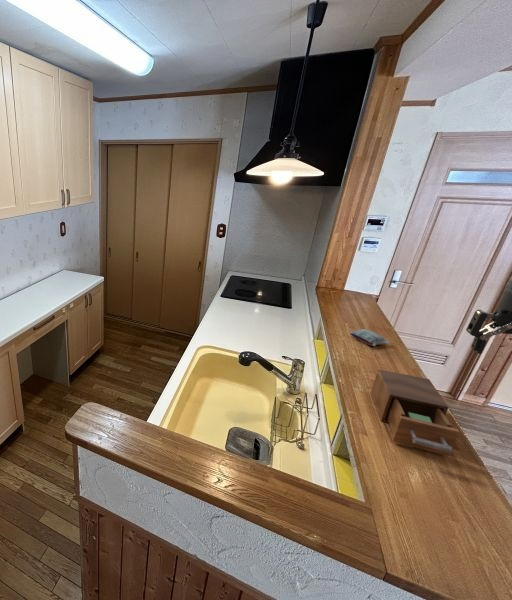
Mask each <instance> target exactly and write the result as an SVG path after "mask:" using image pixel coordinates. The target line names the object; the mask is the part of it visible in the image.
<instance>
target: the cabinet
mask: <svg viewBox="0 0 512 600" xmlns="http://www.w3.org/2000/svg"><path fill="white" fill-rule="evenodd" d="M376 372H377V373H376V375H375V379H374V382H373V385H372V388H371V392H370V396H371V399H372V402H373V401H374V402H373V405H374V407H375V410H376V412H377V415H378V417H379V420H380V422H383V423H387V424H389V422H388V419H387V417H386V415H387V412H388V409H389V406H390V403H391V400H392V397H393V398H398V399H402V400H407V401H411V402H416V403H420V404H425V405H429V406H434V407H438V408H440V409H441V410H442V412H443V413H444V415H445V416H446V414H447V412H448V410H449V405H448V404H447V403H446V401H445V399H444V398H443V397H442V396H441V394H440V393H439V391H438V389H437V388H436V387H435V385H434V384H433V383H432V381H431V380H430V378H424V377H420V376H415V375H409V374H405V373H398V372H394V371H388V370H383V369H378V370H377V371H376Z"/></svg>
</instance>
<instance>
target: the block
mask: <svg viewBox="0 0 512 600" xmlns="http://www.w3.org/2000/svg"><path fill="white" fill-rule="evenodd" d="M406 417H409V418H413V419H417V420H422V421H426V422H430V423H432V421H431V419H430V418H429V417H427V416H422V415H418V414H414V413H410V412H408V414H407V416H406Z"/></svg>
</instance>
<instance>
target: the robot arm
mask: <svg viewBox="0 0 512 600" xmlns="http://www.w3.org/2000/svg"><path fill="white" fill-rule="evenodd" d="M503 290H504V291H503V292H502V295H501V297H500V300H499V302H498V304H497V307H496V310H495V311H493V312H489V311H488V312H487V311H483V310H482V309H476V310H475V311H474V313H473V315H472V317H471V319H470V321H469V322H468V325H467V327H466V328H465V331H466V332H467V333H468V334H469V335H470V336H472V337H474V339H473V340H472V343H471V345H470V348H471V349H472V350H473V352H474V353H475V354H479V355H481V354H482V353H483V351H484V348H485V346H486V344H487V341H488V340H487V339H490V338H491V337H494V336H498V335H501V334H502V333H504V334H506V335H512V275H510V277H509V279H508V281H507V283H506V284H505V287H504V289H503ZM490 319H491V320H492V321H491V322H490V323H487V324H486V325H484V323H485V322H488V321H489V320H490ZM483 325H484V327H483ZM482 327H483V328H482Z"/></svg>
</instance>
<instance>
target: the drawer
mask: <svg viewBox="0 0 512 600" xmlns="http://www.w3.org/2000/svg"><path fill="white" fill-rule="evenodd" d="M408 412H410V413H414V414H418V415H422V416H427V417H429V418H430V419H431V421H432V423H430V422H426V421H422V420H417V419H413V418H409V417H406V416H407V414H408ZM386 417H387V419H388V422H389V423H388V424H389V427H390V428H391V431H392V436H391V441H392V442H394V443H398V444H402V445H405V446H409V447H413V448H416V449H420V450H423V451H428V452H432V453H435V454H438V455H443V456H447V457H450V455H451V453H452V452H453V448H454V446H455V444H456V442H457V440H458V437H459V435H460V433H461V432H460V430H459V429H458V428H456V427H452V423H451V422H450V421H449V419H448V417H447V416H446V414H445V415H444V413H443V412H442V410H441V409H440V408H438V407H434V406H429V405H425V404H420V403H416V402H411V401H407V400H402V399H398V398H393V397H392V400H391V403H390V406H389V409H388V412H387V415H386Z"/></svg>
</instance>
